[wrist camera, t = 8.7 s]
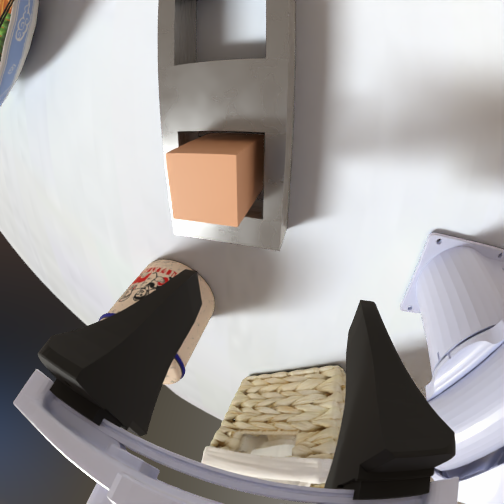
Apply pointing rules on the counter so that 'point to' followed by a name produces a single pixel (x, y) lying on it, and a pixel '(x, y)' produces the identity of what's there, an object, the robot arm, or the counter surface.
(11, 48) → the ramen bowl
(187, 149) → the orange brown block
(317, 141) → the counter surface
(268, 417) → the storage basket
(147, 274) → the teacup with lid
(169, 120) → the grey slotted board
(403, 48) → the counter surface
